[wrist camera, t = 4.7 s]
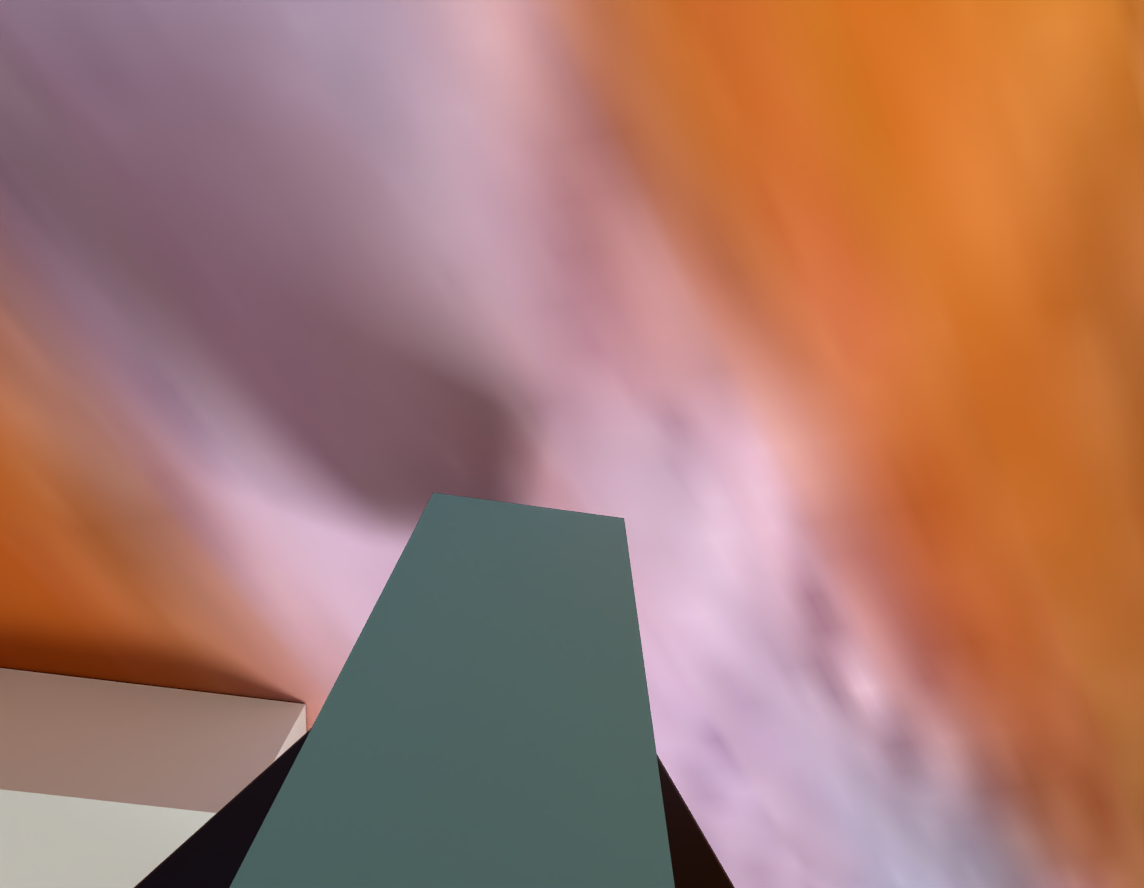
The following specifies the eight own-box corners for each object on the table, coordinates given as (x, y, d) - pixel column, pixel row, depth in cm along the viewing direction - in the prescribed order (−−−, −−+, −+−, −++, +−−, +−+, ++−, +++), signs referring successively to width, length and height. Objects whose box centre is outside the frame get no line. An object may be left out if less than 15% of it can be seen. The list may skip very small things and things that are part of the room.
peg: (623, 518, 12) (757, 1482, 3) (593, 666, 14) (621, 1611, 4) (433, 492, 12) (-52, 1431, 3) (424, 644, 14) (88, 1583, 4)
